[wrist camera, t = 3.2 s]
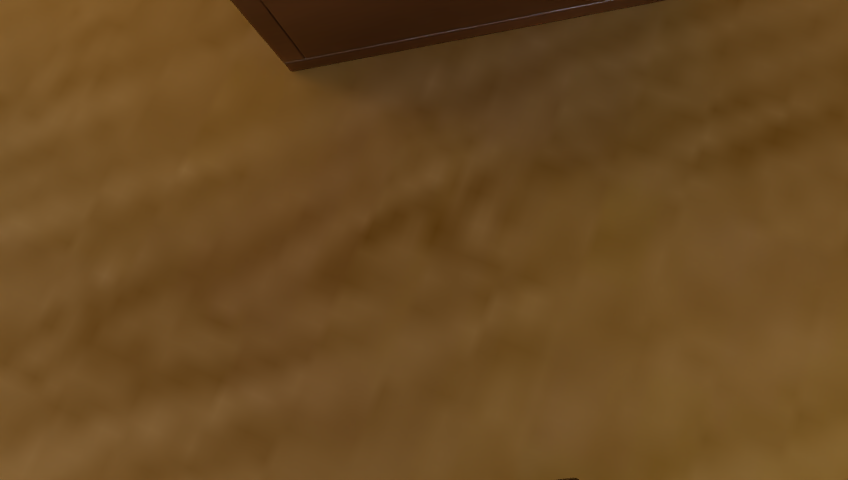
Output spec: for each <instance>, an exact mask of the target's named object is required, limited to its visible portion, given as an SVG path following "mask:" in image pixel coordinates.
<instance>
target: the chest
mask: <svg viewBox="0 0 848 480" xmlns="http://www.w3.org/2000/svg"><path fill="white" fill-rule="evenodd" d="M231 1H232V2H233V4H234V5H235V6H236V7H237V8H238V9H239V11H240V12H241V13H242V14H243V15H244V17H245V18H246V19H247V20H248V21H249V22H250V24H251V25H252V26H253V27H254V28H255V30H256V31H257V32H258V33H259V34H260V35H261V37H262V38H263V39H264V40H265V41H266V43H267V44H268V45H269V46H270V47H271V48H272V50H273V51H274V52H275V53H276V54H277V56H278V57H279V58H280V59H281V60H282V61H283V62H284V63H285V65H286V66H287V67H288V68H289V69H290V71H298V70H303V69H308V68H313V67H318V66H324V65H329V64H334V63H339V62H345V61H350V60H355V59H360V58H365V57H371V56H376V55H381V54H386V53H392V52H397V51H402V50H407V49H413V48H418V47H423V46H428V45H433V44H439V43H444V42H449V41H454V40H460V39H465V38H470V37H475V36H480V35H486V34H491V33H496V32H501V31H507V30H512V29H517V28H522V27H527V26H533V25H538V24H543V23H548V22H554V21H559V20H564V19H569V18H575V17H580V16H585V15H590V14H595V13H601V12H606V11H611V10H616V9H622V8H627V7H632V6H637V5H642V4H648V3H653V2H658V1H663V0H231Z"/></svg>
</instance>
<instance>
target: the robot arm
mask: <svg viewBox="0 0 848 480" xmlns="http://www.w3.org/2000/svg"><path fill="white" fill-rule="evenodd" d="M559 480H579V479H577V478H567V479H559Z"/></svg>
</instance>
